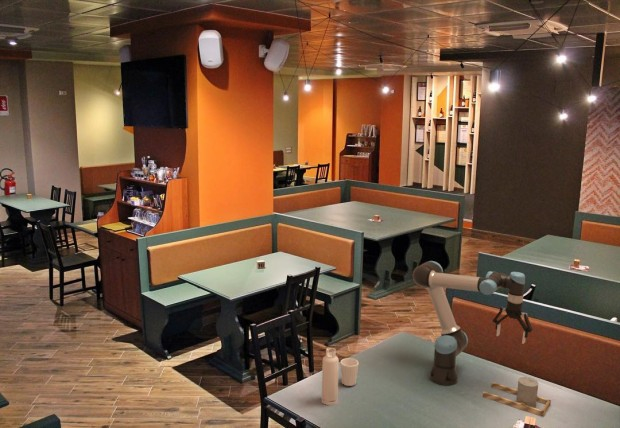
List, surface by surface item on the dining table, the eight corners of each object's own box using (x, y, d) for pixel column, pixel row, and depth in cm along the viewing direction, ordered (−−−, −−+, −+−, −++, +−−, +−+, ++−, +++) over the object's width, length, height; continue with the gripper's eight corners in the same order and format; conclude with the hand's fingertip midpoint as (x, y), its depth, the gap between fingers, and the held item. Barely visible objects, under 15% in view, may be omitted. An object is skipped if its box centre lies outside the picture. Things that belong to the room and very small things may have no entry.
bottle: (339, 398, 279) (340, 347, 273) (334, 406, 271) (336, 354, 266) (324, 395, 281) (325, 345, 276) (319, 403, 274) (320, 351, 268)
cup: (337, 386, 291) (337, 364, 289) (342, 378, 300) (343, 356, 298) (354, 389, 287) (355, 367, 285) (360, 381, 296) (361, 360, 294)
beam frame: (482, 396, 283) (483, 391, 283) (491, 386, 294) (492, 380, 294) (543, 416, 265) (543, 410, 265) (550, 404, 276) (551, 399, 276)
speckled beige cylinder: (537, 410, 271) (540, 387, 269) (517, 407, 273) (520, 385, 271) (534, 400, 281) (536, 378, 278) (514, 398, 282) (516, 376, 280)
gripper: (489, 297, 289) (485, 334, 294) (537, 309, 274) (532, 348, 279) (494, 293, 295) (490, 330, 299) (541, 305, 280) (536, 343, 284)
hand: (510, 339), depth 289 cm, fingers open, 13 cm apart
